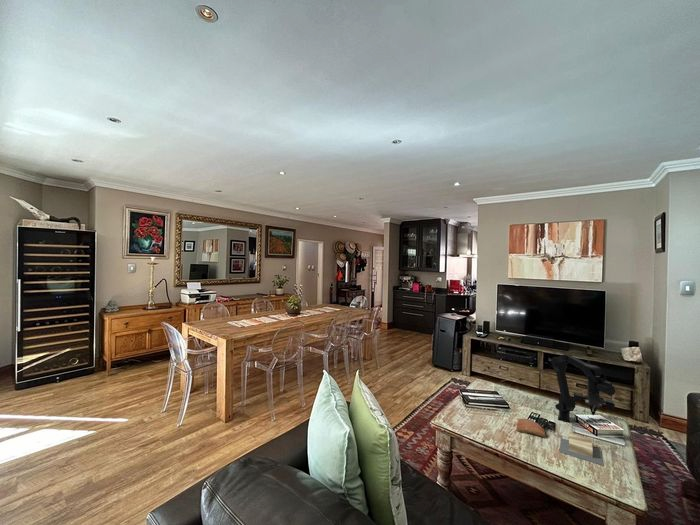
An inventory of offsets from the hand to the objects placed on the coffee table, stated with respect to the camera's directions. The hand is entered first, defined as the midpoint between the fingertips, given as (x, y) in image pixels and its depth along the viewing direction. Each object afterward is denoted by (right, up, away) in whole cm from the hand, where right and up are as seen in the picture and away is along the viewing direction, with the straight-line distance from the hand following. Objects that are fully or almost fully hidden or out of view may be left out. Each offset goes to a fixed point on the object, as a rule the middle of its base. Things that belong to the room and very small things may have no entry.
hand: (593, 414), depth 180 cm
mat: (-18, -13, -14) cm, 26 cm away
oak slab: (-13, -10, -7) cm, 18 cm away
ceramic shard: (-33, -13, +7) cm, 36 cm away
